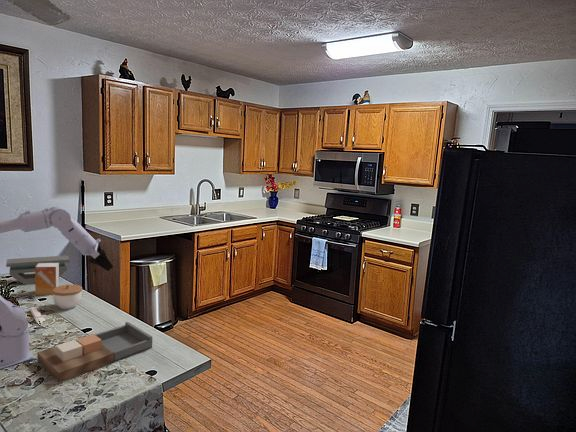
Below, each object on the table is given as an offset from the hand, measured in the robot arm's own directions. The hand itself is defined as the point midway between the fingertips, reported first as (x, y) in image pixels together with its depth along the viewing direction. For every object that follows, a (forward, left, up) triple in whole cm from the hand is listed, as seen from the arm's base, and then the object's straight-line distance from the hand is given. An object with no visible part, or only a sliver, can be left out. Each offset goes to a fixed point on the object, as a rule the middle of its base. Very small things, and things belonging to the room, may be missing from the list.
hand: (108, 265), depth 132 cm
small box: (+2, +59, -27) cm, 65 cm away
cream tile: (-16, -7, -24) cm, 30 cm away
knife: (-9, +27, -28) cm, 40 cm away
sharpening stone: (+5, +77, -27) cm, 81 cm away
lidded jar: (+2, +38, -27) cm, 47 cm away
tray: (+1, -7, -27) cm, 28 cm away
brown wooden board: (-14, -7, -27) cm, 31 cm away
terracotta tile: (-10, -7, -24) cm, 27 cm away
